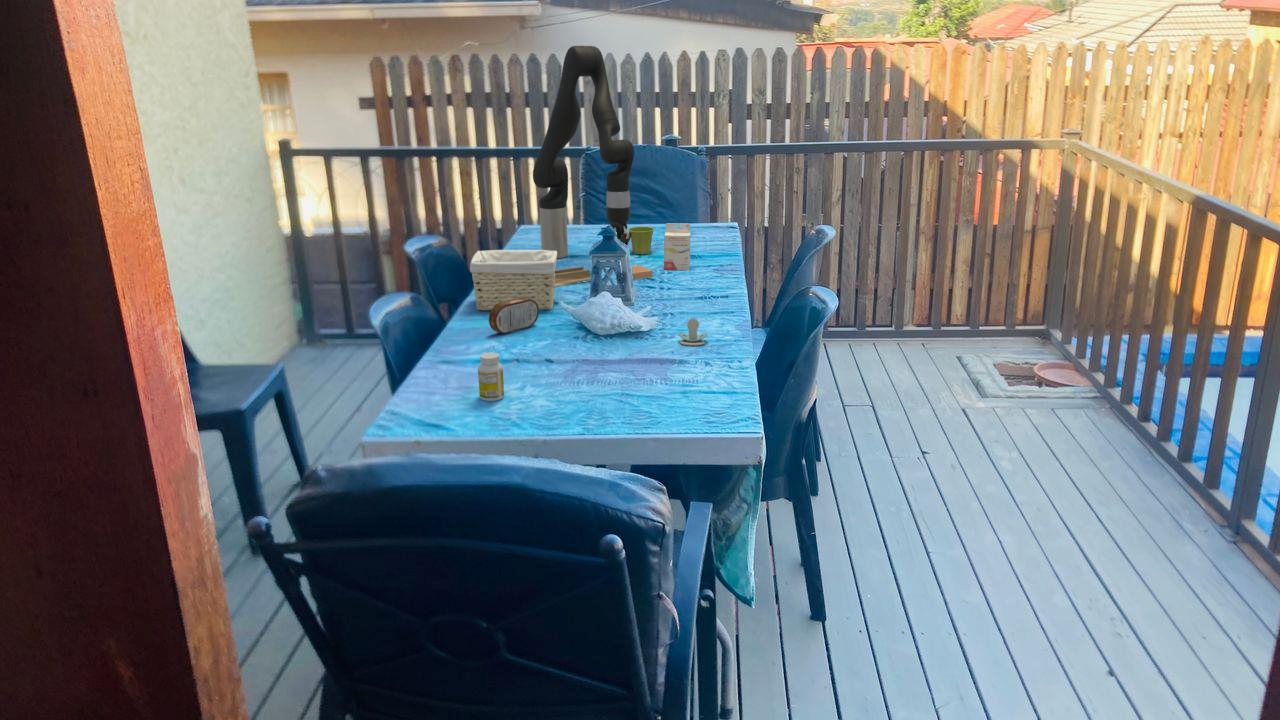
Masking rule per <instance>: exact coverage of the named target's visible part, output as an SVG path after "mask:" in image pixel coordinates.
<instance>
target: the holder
mask: <svg viewBox="0 0 1280 720" xmlns="http://www.w3.org/2000/svg"><path fill="white" fill-rule="evenodd" d="M590 278H591V269H588V268H587V269H584V266H575V267H574V266H573V267H566V268H561V269H555V279H554V280H555V284H554V288H558V287H563V286H564V285H565V286H570V285H569V284H572V283H577V282H583V281H588V280H590ZM572 285H573V284H572ZM565 286H564V287H565Z"/></svg>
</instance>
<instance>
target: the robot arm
mask: <svg viewBox="0 0 1280 720" xmlns="http://www.w3.org/2000/svg"><path fill="white" fill-rule="evenodd" d="M581 77H584V78H585V77H590V78H591V81H592V83H593V86H594V95H593V100H592V105H591V113H592V118H593V122H594V124H595V127H596V129H597V132H598V141H599V143H598V144H599V155H600V157H601V160H602V161H603V162H604V163H605V164H607V165H615V164H617V166H616V168H615V169H613V170H611V171H609V172H608V173H607V174H606V195H605V196H606V197H605V202H606V203H605V206H606V207H605V208H606V211H605V212H606V220H607V221H609V225H610V226H609V227H613V228H614V229H615V230H616V232H617V236H616V237H617V239H618V240H620V241H621V242H623V243H625V244H626V245H627V246H628V245H629V242H630V241H631V233H629V231H628V224H627V222H628V221H630V220H631V195H630V175H631V171H632V167H633V162H634V158H635V147H634V145H633V143H632V142H631V141H630V140H628V139H616V140H614V139H613V138H612V137H614V136H616V135H618V133H619V132H620V131H621V125H620V121H619V118H618V116H617V114H616V111H615V108H614V105H613V102H612V97H611V92H610V87H609V86H610V85H609V80H608V75H607V71H606V65H605V61H604V56H603V54H602V52H601V50H600V48H598V47H597V46H594V45H572V46H570V47H569V48H568V50H567V51H566V53H565V57H564V61H563V65H562V71H561V76H560V82H559V86H558V89H557V90H558V91H557V94H556V97H555V102H554V106H553V109H552V111H551V115H550V119H549V123H548V126H547V130H546V133H545V137H544V139H543V143H542V145H541V147H540V150H539V153H538V156H537V158H536V160H535V163H534V166H533V169H532V180H533V182H534V184H535V186H536V187H538V188H540V189H548V188H549V190H548V192H547V193H546V194H545V195H543V196H542V197H541V198H539V201H538V202H539V203H538V204H539V224H540V227H539V228H540V246H541V249H540V250H549V251H557V259H561V258H562V259H563V258H566V257H568V256H569V243H568V242H569V241H568V215H567V214H568V213H567V212H568V210H567V202H568V197H569V172H568V167H567V163H565V161H564V160H562V159H561V158H557V157H558V155H559V154H560V153H561V152H562V150H563V149H564V148H565V147H566V146H567V144H569V143H570V141H571V140H572V139H573V138H574V136H575V134H576V132H577V130H578V127H579V123H580V120H581V115H582V114H581V113H582V112H581V107H580V103H579V100H578V97H577V94H576V89H577V84H578V80H579V79H580V78H581Z"/></svg>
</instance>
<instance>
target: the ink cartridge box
mask: <svg viewBox="0 0 1280 720" xmlns="http://www.w3.org/2000/svg"><path fill="white" fill-rule="evenodd" d="M676 227H680V228H676ZM691 234H692V233H691V224H690V223H677V222H676V223H675V222H674V223H672V222H671V223H670V222H669V223H668V222H667V223H666V224H665V233H664V239H663V240H664V241H663V242H664V243H663V270H664V271H666V270H668V271H690V266H691V236H692V235H691Z"/></svg>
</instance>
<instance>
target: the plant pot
mask: <svg viewBox="0 0 1280 720" xmlns="http://www.w3.org/2000/svg"><path fill="white" fill-rule="evenodd" d="M627 231H628V233H631V238H630V243H631V249H632V254H634V255H636V254H641V256H642V255H649V254H651V248H652V240H653V239H652V238H653V235H654V231H655V228H654V227H652V226H634V227H629V228H627Z"/></svg>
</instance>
